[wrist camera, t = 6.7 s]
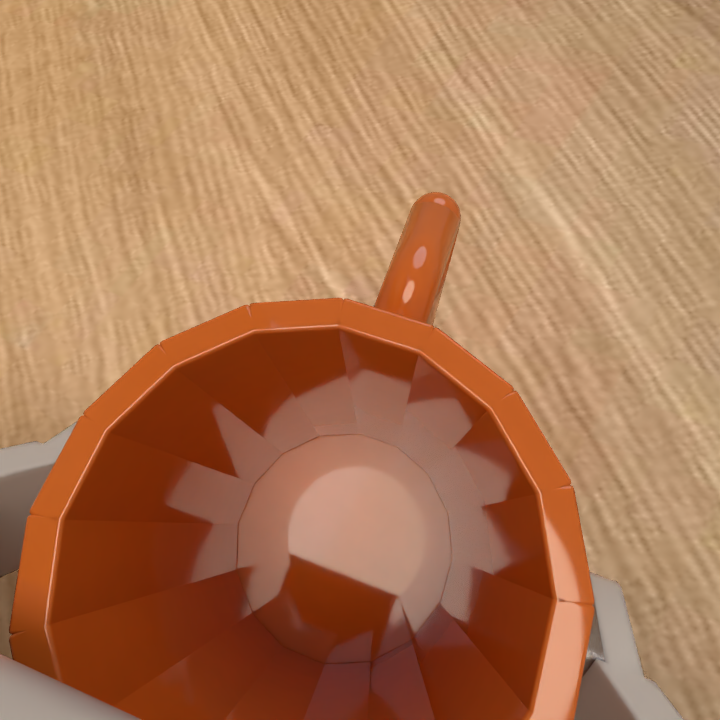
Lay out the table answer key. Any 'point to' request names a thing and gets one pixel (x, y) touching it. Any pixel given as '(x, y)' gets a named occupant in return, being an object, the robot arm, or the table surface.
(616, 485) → the table surface
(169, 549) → the mug
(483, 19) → the table surface
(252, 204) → the table surface
